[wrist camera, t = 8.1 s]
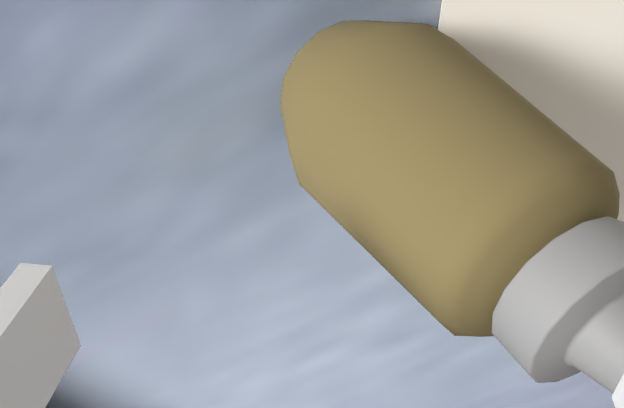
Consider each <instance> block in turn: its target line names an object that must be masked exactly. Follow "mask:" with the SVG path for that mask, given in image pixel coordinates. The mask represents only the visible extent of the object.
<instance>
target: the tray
mask: <svg viewBox="0 0 624 408" xmlns="http://www.w3.org/2000/svg"><path fill="white" fill-rule="evenodd" d="M438 30H439V31H440V32H442V33H444V34H445V35H447V36H449V37H451V38H452V39H454V40H455V41H457V42H458V43H459V44H460V45H461V46H463V47H464V48H465V49H466V50H467V51H469V52H470V53H471V54H472V55H473V56H475V57H476V58H477V59H478V60H479V61H481V62H482V63H483V64H484V65H485V66H487V67H488V68H489V69H490V70H491V71H493V72H494V73H495V74H496V75H498V76H499V77H500V78H501V79H502V80H504V81H505V82H506V83H507V84H508V85H510V86H511V87H512V88H513V89H514V90H516V91H517V92H518V93H519V94H520V95H522V96H523V97H524V98H525V99H526V100H528V101H529V102H530V103H531V104H532V105H534V106H535V107H536V108H537V109H538V110H540V111H541V112H542V113H543V114H544V115H546V116H547V117H548V118H549V119H550V120H552V121H553V122H554V123H555V124H556V125H558V126H559V127H560V128H561V129H563V130H564V131H565V132H566V133H567V134H569V135H570V136H571V137H572V138H573V139H575V140H576V141H577V142H578V143H579V144H581V145H582V146H583V147H584V148H585V149H587V150H588V151H589V152H590V153H591V154H593V155H594V156H595V157H596V158H597V159H599V160H600V161H601V162H602V163H603V164H605V165H606V166H607V167H608V168H609V169H611V170H612V171H613V172H614V175H615V178H616V182H617V186H618V190H619V193H620V198H619V214H618V218H617V220H620V221H623V222H624V0H442V3H441V11H440V18H439V25H438Z"/></svg>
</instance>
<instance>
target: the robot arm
mask: <svg viewBox="0 0 624 408" xmlns="http://www.w3.org/2000/svg"><path fill="white" fill-rule="evenodd" d="M80 346H81V345H80V342H79V339H78V337H77V334H76V331H75V328H74V325H73V323H72V320H71V317H70V314H69V312H68V309H67V306H66V303H65V300H64V298H63V295H62V292H61V289H60V287H59V284H58V281H57V278H56V275H55V273H54V270H53V267H52V266H49V265H36V264H24V263H20V264H19V266H18V267H17V268H16V269H15V270H14V272H13V273H12V274H11V275H10V277H9V278H8V279H7V280H6V282H5V283H4V284H3V285H2V287H1V288H0V408H46V406H47V404H48V402H49V401H50V399H51V397H52V395H53V394H54V392H55V390H56V388H57V387H58V385H59V383H60V381H61V380H62V378H63V376H64V374H65V373H66V371H67V369H68V367H69V366H70V364H71V362H72V360H73V359H74V357H75V355H76V353H77V352H78V350H79V348H80ZM612 399H613V402H614V405H615V408H624V374H623V376H622V378H621V379H620V381H619V383H618V385H617V387H616V389H615V391H614V393H613V395H612Z"/></svg>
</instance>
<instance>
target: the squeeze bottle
mask: <svg viewBox="0 0 624 408" xmlns="http://www.w3.org/2000/svg"><path fill="white" fill-rule="evenodd" d="M280 105H281V111H282V116H283V121H284V126H285V131H286V136H287V142H288V147H289V152H290V156H291V159H292V162H293V166H294V169H295V172H296V175H297V179H298V182H299V184H300V185H301V186H302V187H303V188H304V189H305V190H306V191H307V192H308V193H309V194H310V195H311V196H312V197H313V198H314V199H315V200H316V201H317V202H318V203H319V204H320V205H321V206H322V207H323V208H324V209H325V210H326V211H327V212H328V213H329V214H330V215H331V216H332V217H333V218H334V219H335V220H336V221H337V222H338V223H339V224H340V225H341V226H342V227H343V228H344V229H345V230H346V231H347V232H348V233H349V234H350V235H351V236H352V237H353V238H354V239H355V240H357V241H358V242H359V243H360V244H361V245H362V246H363V247H364V248H365V249H366V250H367V251H368V252H369V253H370V254H371V255H372V256H373V257H374V258H375V259H376V260H377V261H378V262H379V263H380V264H381V265H382V266H383V267H384V268H385V269H386V270H387V271H388V272H389V273H390V274H391V275H392V276H393V277H394V278H395V279H396V280H397V281H398V282H399V283H400V284H401V285H402V286H403V287H404V288H405V289H406V290H407V291H408V292H409V293H410V294H411V295H412V296H413V297H414V298H415V299H416V300H417V301H418V302H419V303H420V304H421V305H422V306H423V307H424V308H425V309H427V310H428V311H429V312H430V313H431V314H432V315H433V316H434V317H435V318H436V319H437V320H438V321H439V322H440V323H441V324H442V325H443V326H444V327H445V328H447V329H448V330H449V331H450V332H451V333H452V334H454V335H455V336H495V338H496V339H497V340H498V341H499V342H500V343H501V344H502V345H503V346H504V348H505V349H506V350H507V351H508V352H509V353H510V354H511V355H512V356H513V358H514V359H515V360H516V361H517V362H518V363H519V364H520V365H521V367H522V368H523V369H524V370H525V371H526V372H527V373H528V374H529V375H530V376H531V377H532V378H533V379H534V380H535V381H536V382H539V383H545V382H557V381H560V380H562V379H565V378H567V377H570V376H572V375H574V374H577V373H579V372H580V371H581V372H583V373H584V374H586V375H587V376H589V377H590V378H592V379H593V380H594V381H596V382H597V383H599V384H600V385H602V386H603V387H605V388H606V389H607V390H609V391H610V392H612V393H614V391H615V389H616V387H617V385H618V383H619V381H620V379H621V378H622V376H623V374H624V222H623V221H620V220H617V218H618V214H619V198H620V193H619V190H618V186H617V182H616V178H615V175H614V172H613V171H612V170H611V169H609V168H608V167H607V166H606V165H605V164H603V163H602V162H601V161H600V160H599V159H597V158H596V157H595V156H594V155H593V154H591V153H590V152H589V151H588V150H587V149H585V148H584V147H583V146H582V145H581V144H579V143H578V142H577V141H576V140H575V139H573V138H572V137H571V136H570V135H569V134H567V133H566V132H565V131H564V130H563V129H561V128H560V127H559V126H558V125H556V124H555V123H554V122H553V121H552V120H550V119H549V118H548V117H547V116H546V115H544V114H543V113H542V112H541V111H540V110H538V109H537V108H536V107H535V106H534V105H532V104H531V103H530V102H529V101H528V100H526V99H525V98H524V97H523V96H522V95H520V94H519V93H518V92H517V91H516V90H514V89H513V88H512V87H511V86H510V85H508V84H507V83H506V82H505V81H504V80H502V79H501V78H500V77H499V76H498V75H496V74H495V73H494V72H493V71H491V70H490V69H489V68H488V67H487V66H485V65H484V64H483V63H482V62H481V61H479V60H478V59H477V58H476V57H475V56H473V55H472V54H471V53H470V52H469V51H467V50H466V49H465V48H464V47H463V46H461V45H460V44H459V43H458V42H457V41H455V40H454V39H452V38H451V37H449V36H447V35H445V34H444V33H442V32H440V31H439V30H437V29H435V28H434V27H432V26H430V25H428V24H417V23H400V22H382V21H342V22H340V23H337V24H335V25H333V26H331V27H328V28H326V29H324V30H322V31H319V32H318V33H317V34H316V35H314V36H313V37H312V38H311V39H310V40H309V41H308V42H307V43H306V44H305V45H304V46H303V47H302V48H301V49H300V50H299V51H298V52H297V53H296V55H295V57H294V59H293V61H292V63H291V65H290V66H289V68H288V70H287V72H286V74H285V76H284V78H283V86H282V94H281V102H280Z"/></svg>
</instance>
